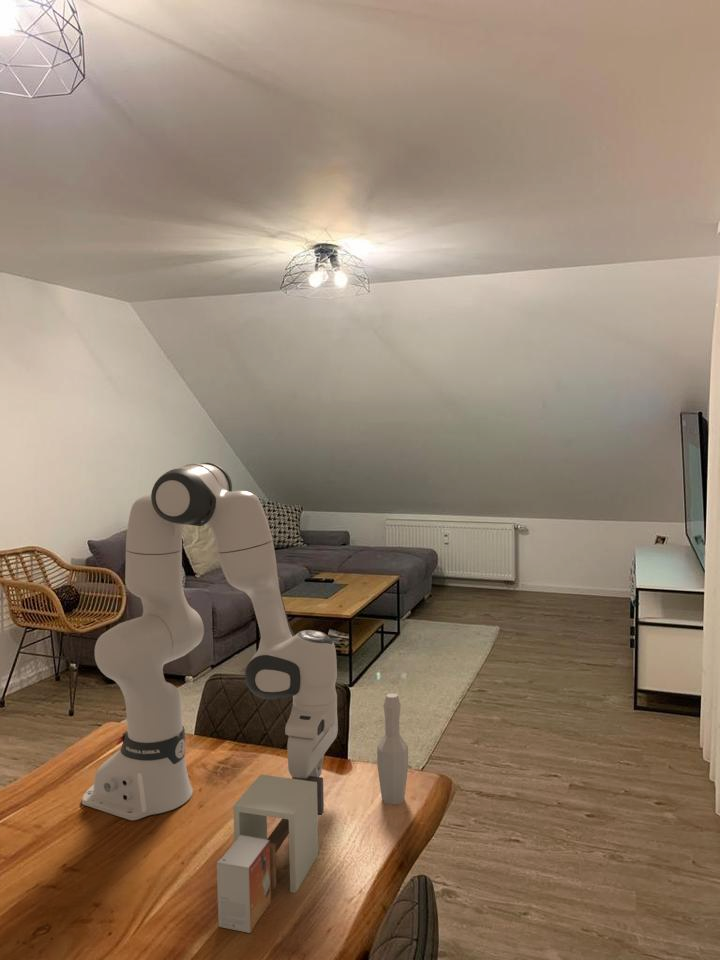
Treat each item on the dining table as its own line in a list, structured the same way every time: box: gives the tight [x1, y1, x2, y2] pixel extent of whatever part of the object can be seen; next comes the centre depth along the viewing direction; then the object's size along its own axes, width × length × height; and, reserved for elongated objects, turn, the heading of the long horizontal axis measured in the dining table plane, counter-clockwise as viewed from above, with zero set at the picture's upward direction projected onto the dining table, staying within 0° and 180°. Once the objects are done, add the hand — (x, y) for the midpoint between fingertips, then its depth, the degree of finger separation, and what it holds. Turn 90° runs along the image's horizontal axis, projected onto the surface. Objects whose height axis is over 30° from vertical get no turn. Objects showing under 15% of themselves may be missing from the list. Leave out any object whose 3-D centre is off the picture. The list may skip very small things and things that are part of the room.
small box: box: [216, 835, 272, 934], centre depth 110 cm, size 8×6×10 cm
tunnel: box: [232, 774, 319, 894], centre depth 122 cm, size 11×11×14 cm
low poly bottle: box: [376, 693, 409, 806], centre depth 144 cm, size 6×6×22 cm
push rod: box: [267, 776, 325, 890], centre depth 125 cm, size 6×24×7 cm, turn 164°
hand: (315, 777), depth 142 cm, fingers closed
